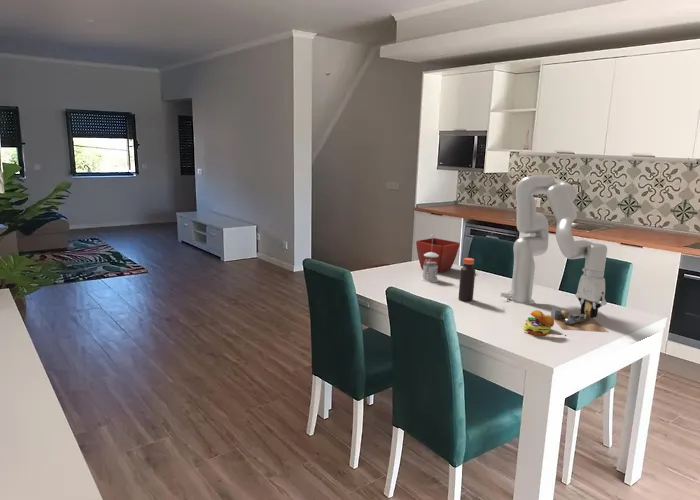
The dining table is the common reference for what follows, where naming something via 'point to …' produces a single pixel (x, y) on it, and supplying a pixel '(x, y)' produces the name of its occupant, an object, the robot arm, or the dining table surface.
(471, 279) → the bottle
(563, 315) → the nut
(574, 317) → the lever
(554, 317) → the anvil
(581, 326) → the board
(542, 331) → the cheeseburger
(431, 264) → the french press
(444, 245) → the plant pot
